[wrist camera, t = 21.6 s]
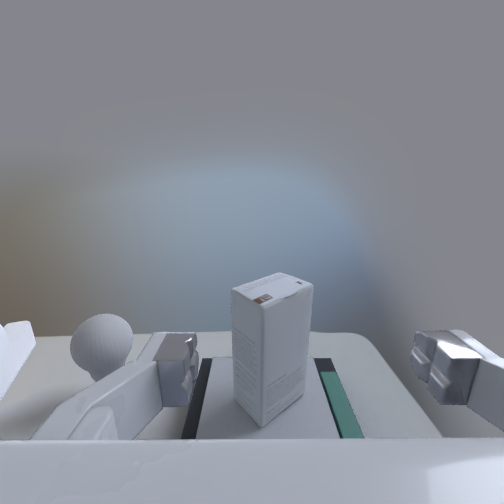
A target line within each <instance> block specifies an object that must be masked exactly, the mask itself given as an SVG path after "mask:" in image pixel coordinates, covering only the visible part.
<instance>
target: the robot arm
mask: <svg viewBox="0 0 504 504" xmlns="http://www.w3.org/2000/svg"><path fill="white" fill-rule="evenodd" d="M413 341H414V343H415V345H416V347H415V348H414V349H413V350H412V351H411V356H410V362H411V367H412V369H413V371H414V373H415V374H416V376H417V377H418V378H419V379H421V380H422V381H424V382H425V383H427V389H428V391H429V392H430V393H431V394H432V395H433V397H434V398H435V399H436V400H437V402H438V403H439V404H440V405H467V407H468V408H469V409H471V410H472V411H474V412H475V413H477V414H478V415H480V416H481V417H483V418H484V419H486V420H487V421H488V422H490V423H491V424H493V425H494V426H496V427H497V428H499V429H500V430H502V431H503V432H504V358H500V357H498V356H497V355H496V354H494V353H493V352H492V351H490V350H489V349H487V348H486V347H485V346H484V345H482V344H481V343H479V342H478V341H477V340H475V339H474V338H473V337H471V336H470V335H469V334H467V333H466V332H465V331H462V330H445V331H417V332H416V333H415V335H414V339H413ZM196 345H197V335H196V333H194V332H169V333H168V332H155V333H153V334H152V336H151V337H150V339H149V341H148V342H147V344H146V345H145V347H144V349H143V350H142V352H141V353H140V355H139V356H138V358H137V360H136V361H131V362H129V363H127V364H126V365H124V366H122V367H121V368H119V369H117V370H116V371H114V372H112V373H111V374H109V375H107V376H106V377H104V378H102V379H101V380H99V381H97V382H96V383H94V384H92V385H91V386H89V387H87V388H86V389H84V390H82V391H81V392H79V393H77V394H76V395H74V396H72V397H71V398H69V399H67V400H66V401H64V402H62V403H61V404H59V405H58V406H57V407H56V408H55V409H54V410H53V412H52V413H51V414H50V415H49V416H48V417H47V419H46V420H45V421H44V422H43V423H42V425H41V426H40V427H39V428H38V429H37V430H36V432H35V433H34V434H33V435H32V436H31V438H30V439H29V440H0V504H504V438H342V439H181V440H133V439H134V438H135V437H136V436H137V435H138V434H139V433H140V432H141V431H142V430H143V429H144V428H145V427H146V426H147V425H148V424H149V423H150V422H151V421H152V419H153V418H154V417H155V416H156V415H157V414H158V413H159V412H160V411H161V410H162V409H163V407H183V406H189V403H190V399H191V396H192V392H193V384H192V383H193V382H194V381H195V380H196V377H197V373H198V365H199V358H198V352H197V351H196V350H195V348H196Z"/></svg>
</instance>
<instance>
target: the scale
mask: <svg viewBox="0 0 504 504" xmlns="http://www.w3.org/2000/svg"><path fill="white" fill-rule="evenodd" d="M342 438H364V436H363V433H362V431H361V429H360V426H359V424H358V422H357V419H356V417H355V415H354V412H353V410H352V408H351V405H350V403H349V401H348V398H347V396H346V394H345V391H344V389H343V387H342V384H341V382H340V380H339V377H338V375H337V372H336V370H335V368H334V365H333V363H332V361H331V359H330V358H313V357H308V359H307V372H306V384H305V393H304V394H303V395H301V396H300V397H299V398H298V399H297V400H295V401H294V402H293V403H292V404H290V405H289V406H288V407H287V408H285V409H284V410H283V411H282V412H280V413H279V414H278V415H277V416H276V417H274V418H273V419H272V420H271V421H269V422H268V423H267V424H266V425H265V426H263V427H260V426H259V425H258V424H257V423H256V422H255V421H254V420H253V419H252V418H251V417H250V416H249V415H248V414H247V412H246V411H245V410H244V409H243V408H242V407H241V406H240V405H239V403H238V402H237V401H236V400H235V398H234V385H233V357H213V358H203V359H202V362H201V366H200V370H199V374H198V377H197V381H196V385H195V388H194V392H193V396H192V400H191V403H190V407H189V411H188V415H187V418H186V422H185V426H184V429H183V433H182V437H181V439H342Z"/></svg>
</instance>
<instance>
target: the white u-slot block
mask: <svg viewBox="0 0 504 504" xmlns="http://www.w3.org/2000/svg"><path fill="white" fill-rule="evenodd" d="M35 345H36V342H35V338H34V335H33V331H32V327H31V324H30V322H29V321H21V322H15V323H9V324H7V325H6V326H5V327H4V328H3V327H2V326H1V325H0V401H1V399H2V397H3V396H4V394H5V393H6V391H7V389H8V388H9V386H10V385H11V383H12V381H13V380H14V378H15V377H16V375H17V373H18V372H19V370H20V369H21V367H22V365H23V364H24V362H25V361H26V359H27V358H28V356H29V354H30V353H31V351H32V350H33V348H34V346H35Z"/></svg>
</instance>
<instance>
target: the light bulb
mask: <svg viewBox="0 0 504 504" xmlns="http://www.w3.org/2000/svg"><path fill="white" fill-rule="evenodd" d="M132 344H133V333H132V330H131V328H130V326H129V324H128V323H127V322H126V321H125V320H124V319H122V318H120V317H118V316H116V315H112V314H101V315H97V316H94V317H91V318H89V319H88V320H86V321H85V322H83V323H82V324H81V325H80V326H79V327H78V328H77V330H76V331H75V333H74V334H73V337H72V340H71V344H70V352H71V355H72V358H73V360H74V362H75V363H76V364H77V365H78V366H79V367H81V368H82V369H84V370H86V371H88V372H89V373H90V375H91V377H92V378H93V379H94V380H95V381H96V382H97V381H99V380H101V379H102V378H104V377H106V376H107V375H109V374H111V373H112V372H114V371H116V370H117V369H119V368H121V367H122V366H124V365H125V360H126V358H127V356H128V354H129V352H130V350H131V347H132Z"/></svg>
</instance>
